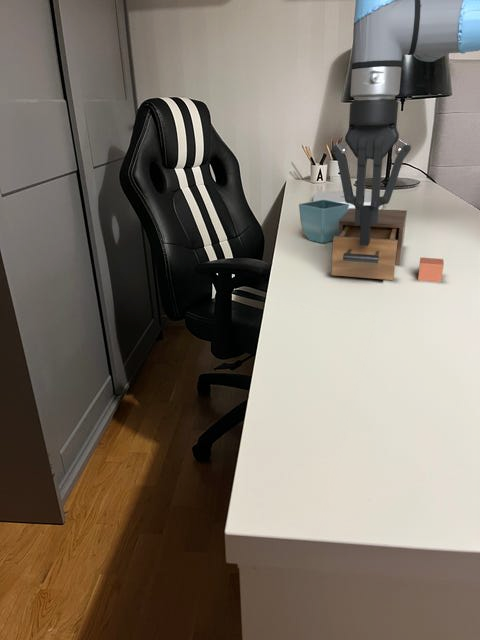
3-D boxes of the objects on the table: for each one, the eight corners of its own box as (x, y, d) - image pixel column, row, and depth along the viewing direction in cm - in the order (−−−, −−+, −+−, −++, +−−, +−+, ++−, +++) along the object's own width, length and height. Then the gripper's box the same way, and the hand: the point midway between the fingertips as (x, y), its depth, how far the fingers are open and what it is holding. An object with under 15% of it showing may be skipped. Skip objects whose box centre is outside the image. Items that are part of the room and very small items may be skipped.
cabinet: (399, 268, 101) (404, 224, 98) (336, 264, 105) (339, 221, 102) (402, 250, 114) (406, 210, 110) (346, 246, 118) (349, 208, 114)
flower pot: (322, 246, 118) (323, 208, 115) (296, 239, 125) (297, 203, 121) (347, 240, 123) (350, 204, 119) (322, 234, 130) (323, 199, 126)
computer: (312, 210, 159) (312, 201, 158) (315, 198, 179) (315, 191, 178) (383, 211, 156) (384, 202, 155) (378, 199, 176) (379, 191, 175)
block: (440, 279, 95) (443, 258, 93) (440, 285, 91) (443, 264, 90) (417, 277, 96) (420, 257, 94) (417, 284, 93) (420, 263, 91)
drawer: (391, 289, 87) (395, 248, 85) (326, 283, 91) (328, 244, 88) (397, 260, 104) (401, 225, 101) (342, 256, 107) (344, 222, 104)
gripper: (329, 100, 78) (324, 246, 88) (416, 96, 74) (401, 251, 84) (337, 100, 85) (331, 236, 94) (417, 97, 81) (403, 240, 90)
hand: (364, 243), depth 89 cm, fingers closed
